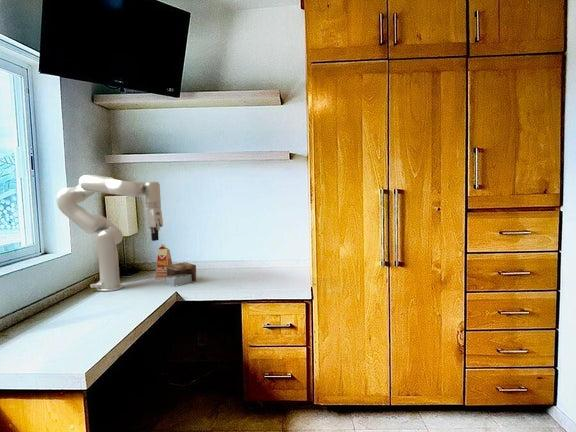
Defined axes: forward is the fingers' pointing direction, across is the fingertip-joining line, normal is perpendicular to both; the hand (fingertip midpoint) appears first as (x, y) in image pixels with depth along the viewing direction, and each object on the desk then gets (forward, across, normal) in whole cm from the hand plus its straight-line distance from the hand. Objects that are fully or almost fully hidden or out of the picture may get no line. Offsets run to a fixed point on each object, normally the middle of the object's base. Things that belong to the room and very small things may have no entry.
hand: (155, 240), depth 232 cm
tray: (+25, 0, -13) cm, 28 cm away
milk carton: (+25, +21, -14) cm, 36 cm away
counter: (+25, +2, -15) cm, 29 cm away
